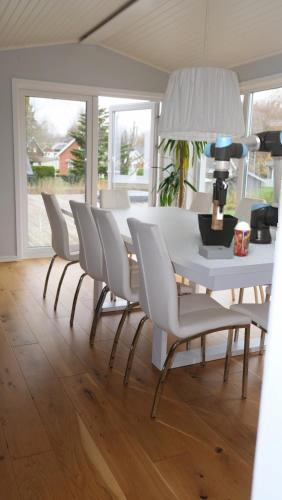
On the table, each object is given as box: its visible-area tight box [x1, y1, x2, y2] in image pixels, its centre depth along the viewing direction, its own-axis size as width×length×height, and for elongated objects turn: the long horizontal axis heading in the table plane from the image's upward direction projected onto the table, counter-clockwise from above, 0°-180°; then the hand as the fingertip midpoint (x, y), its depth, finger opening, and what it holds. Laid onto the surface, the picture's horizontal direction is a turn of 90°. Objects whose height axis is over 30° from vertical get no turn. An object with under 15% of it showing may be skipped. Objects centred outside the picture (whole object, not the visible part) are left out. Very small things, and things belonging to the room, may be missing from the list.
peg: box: [211, 200, 225, 230], centre depth 218 cm, size 4×4×14 cm
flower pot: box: [197, 213, 239, 248], centre depth 249 cm, size 19×19×17 cm
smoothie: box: [233, 215, 251, 257], centre depth 225 cm, size 8×8×20 cm
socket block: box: [197, 245, 234, 260], centre depth 222 cm, size 13×13×4 cm
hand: (217, 218), depth 218 cm, fingers closed on peg, 4 cm apart
